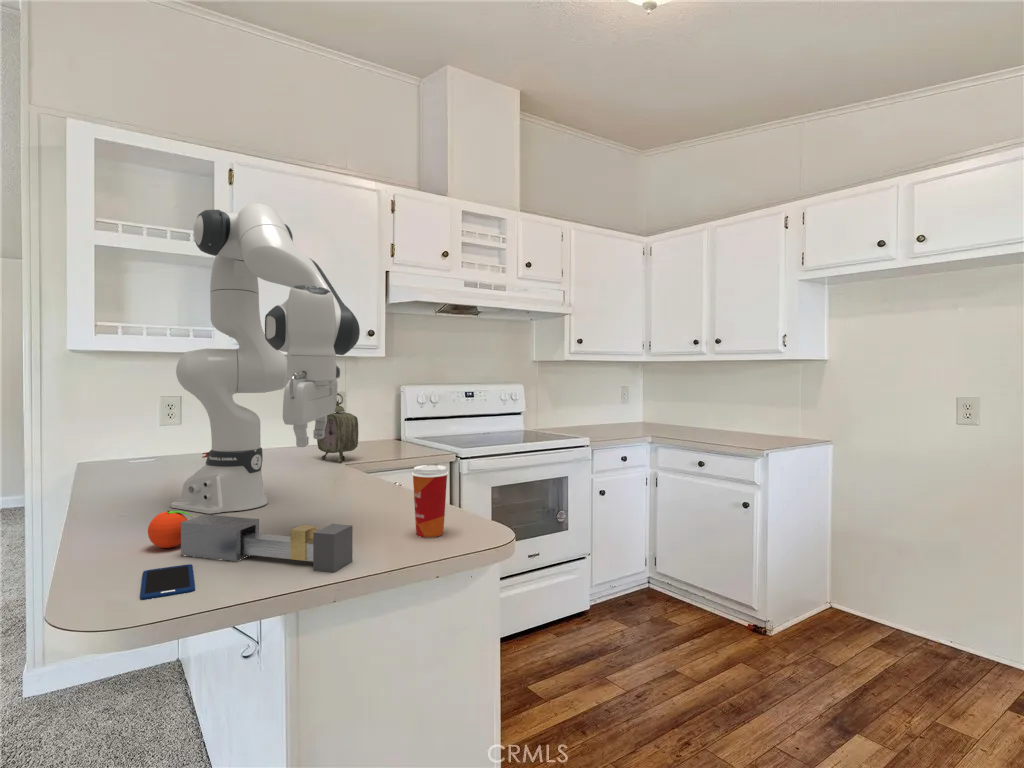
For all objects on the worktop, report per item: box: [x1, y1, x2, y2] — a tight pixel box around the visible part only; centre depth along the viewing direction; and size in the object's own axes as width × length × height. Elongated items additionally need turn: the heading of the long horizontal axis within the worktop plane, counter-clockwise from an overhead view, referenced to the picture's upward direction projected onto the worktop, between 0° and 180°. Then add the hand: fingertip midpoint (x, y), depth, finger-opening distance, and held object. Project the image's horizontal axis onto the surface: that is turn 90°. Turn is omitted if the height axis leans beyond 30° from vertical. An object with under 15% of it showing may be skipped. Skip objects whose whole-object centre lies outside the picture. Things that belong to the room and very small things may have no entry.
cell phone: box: [139, 563, 196, 601], centre depth 95 cm, size 7×14×1 cm, turn 30°
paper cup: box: [411, 464, 449, 538], centre depth 123 cm, size 8×8×14 cm
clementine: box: [147, 510, 193, 549], centre depth 114 cm, size 8×7×7 cm
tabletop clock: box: [316, 392, 359, 464], centre depth 218 cm, size 14×9×25 cm, turn 49°
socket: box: [312, 523, 353, 573], centre depth 103 cm, size 4×6×6 cm, turn 165°
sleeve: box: [180, 514, 260, 562], centre depth 109 cm, size 12×6×6 cm, turn 75°
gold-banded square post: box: [240, 524, 318, 562], centre depth 106 cm, size 19×3×5 cm, turn 75°
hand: (311, 442), depth 114 cm, fingers open, 8 cm apart
